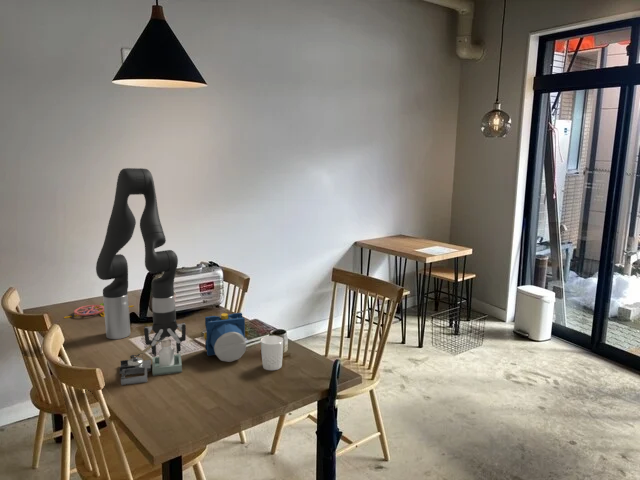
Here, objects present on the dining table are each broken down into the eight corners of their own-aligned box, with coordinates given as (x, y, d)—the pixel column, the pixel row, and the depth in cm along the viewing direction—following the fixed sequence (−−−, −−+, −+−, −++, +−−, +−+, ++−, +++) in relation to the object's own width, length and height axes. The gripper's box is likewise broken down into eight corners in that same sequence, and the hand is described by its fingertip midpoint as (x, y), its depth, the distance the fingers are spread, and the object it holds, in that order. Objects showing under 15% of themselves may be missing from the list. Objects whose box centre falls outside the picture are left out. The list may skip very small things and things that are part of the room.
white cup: (286, 363, 183) (286, 337, 181) (278, 372, 176) (277, 345, 174) (266, 360, 186) (266, 334, 184) (257, 369, 179) (256, 342, 177)
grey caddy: (121, 366, 180) (120, 355, 179) (151, 362, 183) (150, 352, 182) (118, 385, 166) (117, 374, 165) (150, 381, 169) (149, 370, 168)
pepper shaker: (175, 364, 181) (174, 339, 179) (169, 369, 177) (168, 343, 175) (164, 363, 181) (163, 338, 179) (158, 368, 177) (157, 342, 176)
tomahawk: (145, 362, 186) (145, 359, 186) (129, 359, 187) (129, 356, 187) (176, 340, 205) (176, 337, 205) (162, 337, 207) (162, 334, 207)
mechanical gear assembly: (61, 314, 233) (67, 325, 221) (60, 305, 232) (66, 316, 220) (129, 302, 250) (138, 312, 238) (128, 294, 249) (137, 304, 238)
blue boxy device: (203, 349, 194) (203, 314, 189) (242, 344, 199) (243, 309, 194) (210, 368, 182) (209, 331, 177) (251, 362, 188) (251, 325, 183)
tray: (153, 364, 182) (152, 357, 182) (180, 360, 185) (180, 354, 184) (152, 375, 173) (152, 368, 173) (182, 372, 176) (181, 365, 175)
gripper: (185, 303, 180) (187, 347, 184) (142, 306, 176) (145, 351, 179) (186, 309, 173) (188, 355, 177) (141, 313, 169) (144, 360, 172)
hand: (166, 353), depth 178 cm, fingers open, 7 cm apart
